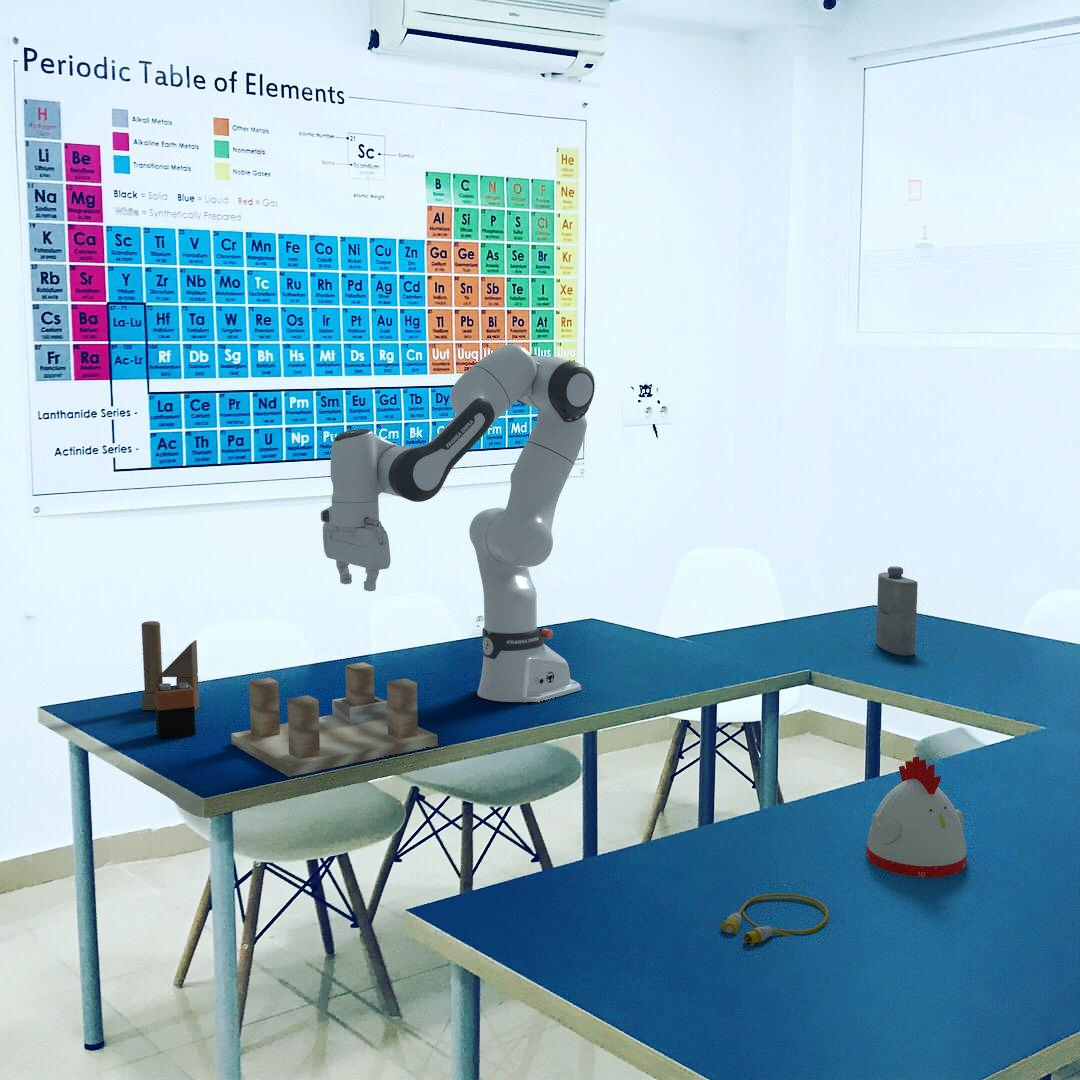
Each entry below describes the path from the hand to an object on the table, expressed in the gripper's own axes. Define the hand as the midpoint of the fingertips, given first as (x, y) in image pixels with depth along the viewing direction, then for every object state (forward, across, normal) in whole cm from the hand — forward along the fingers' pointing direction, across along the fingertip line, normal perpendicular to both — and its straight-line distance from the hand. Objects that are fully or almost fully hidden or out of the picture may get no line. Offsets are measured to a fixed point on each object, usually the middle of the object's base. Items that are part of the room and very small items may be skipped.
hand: (357, 587), depth 259 cm
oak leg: (+25, 0, 0) cm, 25 cm away
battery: (+27, +16, +31) cm, 45 cm away
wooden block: (+27, +34, +25) cm, 50 cm away
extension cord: (+28, -110, +1) cm, 114 cm away
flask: (+29, -19, -135) cm, 139 cm away
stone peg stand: (+27, -8, +10) cm, 30 cm away
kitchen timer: (+28, -108, -31) cm, 116 cm away
